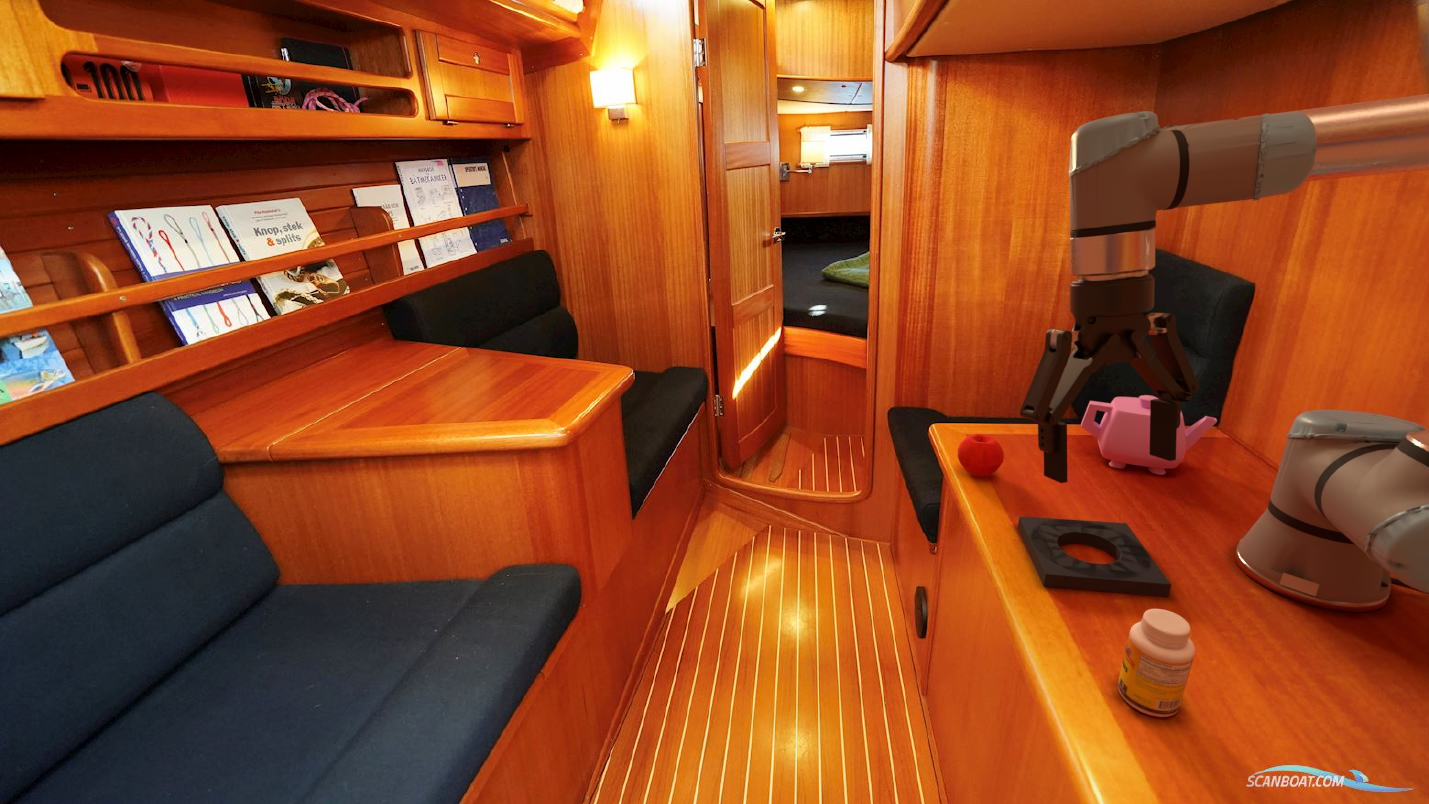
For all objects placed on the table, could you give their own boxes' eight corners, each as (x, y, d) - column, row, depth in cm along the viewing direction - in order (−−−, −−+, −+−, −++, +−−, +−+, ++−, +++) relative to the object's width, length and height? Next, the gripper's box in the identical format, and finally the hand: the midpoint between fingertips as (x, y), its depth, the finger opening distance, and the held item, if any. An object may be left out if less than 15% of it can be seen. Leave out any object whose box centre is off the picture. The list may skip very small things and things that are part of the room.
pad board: (1124, 534, 96) (1126, 522, 96) (1168, 597, 83) (1172, 584, 82) (1017, 527, 100) (1019, 516, 99) (1043, 586, 86) (1045, 574, 85)
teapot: (1076, 465, 118) (1087, 401, 113) (1076, 440, 128) (1086, 380, 124) (1209, 486, 109) (1227, 417, 104) (1198, 457, 119) (1214, 393, 115)
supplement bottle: (1125, 671, 71) (1143, 595, 68) (1184, 698, 68) (1207, 620, 64) (1108, 699, 68) (1126, 621, 64) (1170, 729, 64) (1193, 648, 60)
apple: (948, 464, 120) (952, 428, 118) (991, 463, 120) (996, 427, 117) (962, 484, 113) (966, 446, 110) (1008, 483, 113) (1013, 445, 110)
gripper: (1181, 261, 72) (1176, 440, 77) (981, 290, 68) (988, 477, 73) (1247, 259, 65) (1237, 457, 69) (1027, 292, 61) (1032, 499, 66)
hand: (1109, 468), depth 71 cm, fingers open, 13 cm apart
